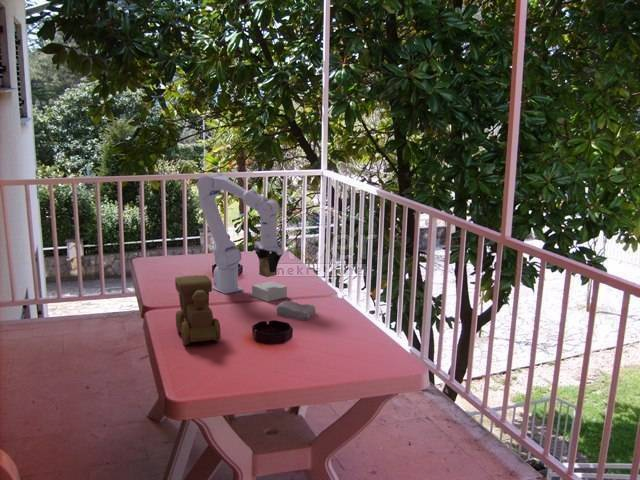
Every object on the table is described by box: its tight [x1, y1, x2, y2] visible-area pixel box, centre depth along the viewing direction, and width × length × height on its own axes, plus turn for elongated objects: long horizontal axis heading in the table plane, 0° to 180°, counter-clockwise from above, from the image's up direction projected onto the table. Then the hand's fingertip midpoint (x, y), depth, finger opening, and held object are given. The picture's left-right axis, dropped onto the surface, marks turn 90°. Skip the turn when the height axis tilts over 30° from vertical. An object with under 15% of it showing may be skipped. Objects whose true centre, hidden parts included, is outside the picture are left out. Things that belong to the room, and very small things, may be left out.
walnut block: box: [258, 257, 278, 278], centre depth 240 cm, size 4×4×6 cm
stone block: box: [276, 300, 317, 321], centre depth 224 cm, size 12×5×10 cm
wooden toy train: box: [174, 274, 221, 346], centre depth 201 cm, size 20×11×17 cm, turn 21°
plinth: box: [251, 280, 288, 303], centre depth 242 cm, size 9×9×4 cm
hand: (268, 270), depth 240 cm, fingers closed on walnut block, 4 cm apart
